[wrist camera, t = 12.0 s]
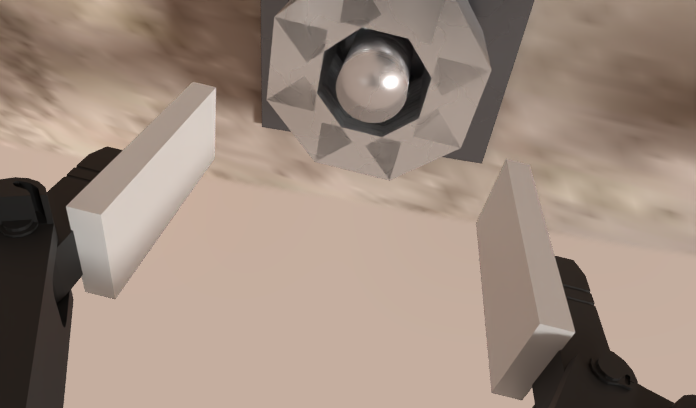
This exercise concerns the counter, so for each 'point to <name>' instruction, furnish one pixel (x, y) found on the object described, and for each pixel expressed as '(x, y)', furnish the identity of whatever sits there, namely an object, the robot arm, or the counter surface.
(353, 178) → the counter surface
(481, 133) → the hub
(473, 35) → the octagonal ball socket
